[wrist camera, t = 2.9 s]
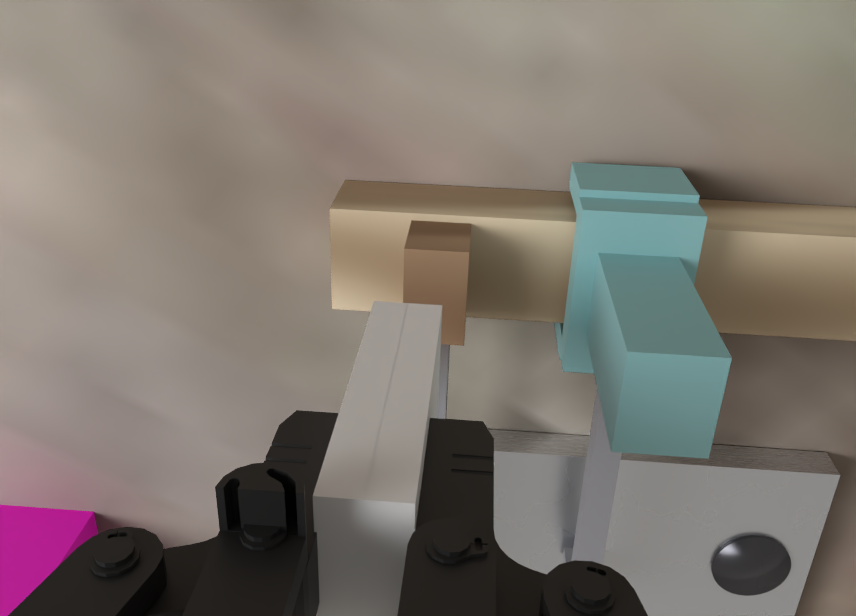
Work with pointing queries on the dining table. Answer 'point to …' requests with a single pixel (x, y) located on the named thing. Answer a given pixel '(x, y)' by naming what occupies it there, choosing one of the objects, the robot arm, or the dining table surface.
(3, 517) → the toy block
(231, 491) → the robot arm
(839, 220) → the rail
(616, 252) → the sliding trammel head
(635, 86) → the dining table surface
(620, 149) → the dining table surface
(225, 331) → the dining table surface
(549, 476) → the bolt plate
